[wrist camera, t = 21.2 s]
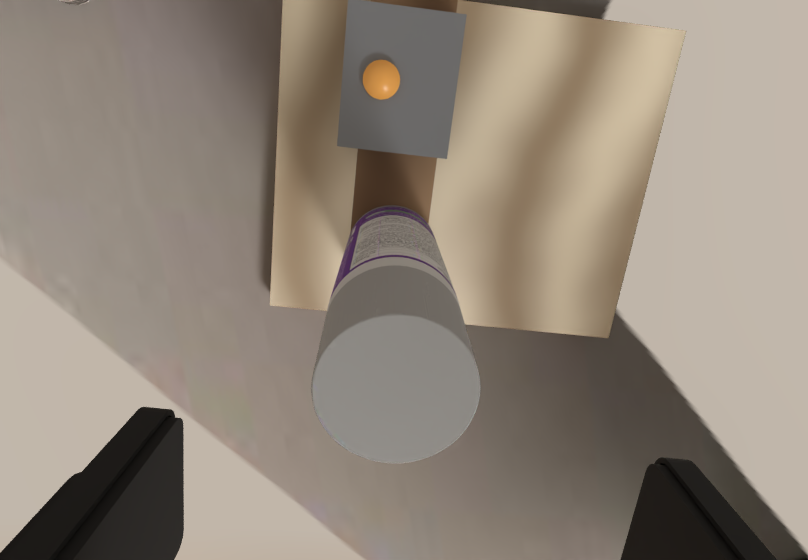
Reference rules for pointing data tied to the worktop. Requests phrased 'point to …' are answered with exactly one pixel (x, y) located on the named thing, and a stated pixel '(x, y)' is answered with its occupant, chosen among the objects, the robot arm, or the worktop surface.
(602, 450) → the worktop surface
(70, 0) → the lighter
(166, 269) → the worktop surface
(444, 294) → the container
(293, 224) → the board
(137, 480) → the robot arm
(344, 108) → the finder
